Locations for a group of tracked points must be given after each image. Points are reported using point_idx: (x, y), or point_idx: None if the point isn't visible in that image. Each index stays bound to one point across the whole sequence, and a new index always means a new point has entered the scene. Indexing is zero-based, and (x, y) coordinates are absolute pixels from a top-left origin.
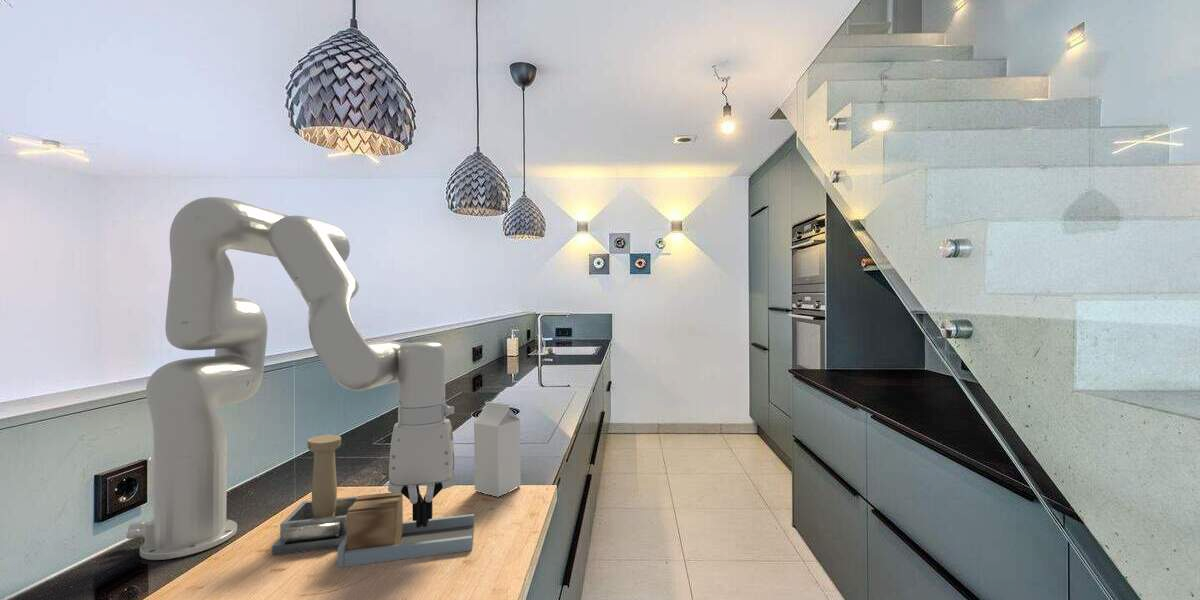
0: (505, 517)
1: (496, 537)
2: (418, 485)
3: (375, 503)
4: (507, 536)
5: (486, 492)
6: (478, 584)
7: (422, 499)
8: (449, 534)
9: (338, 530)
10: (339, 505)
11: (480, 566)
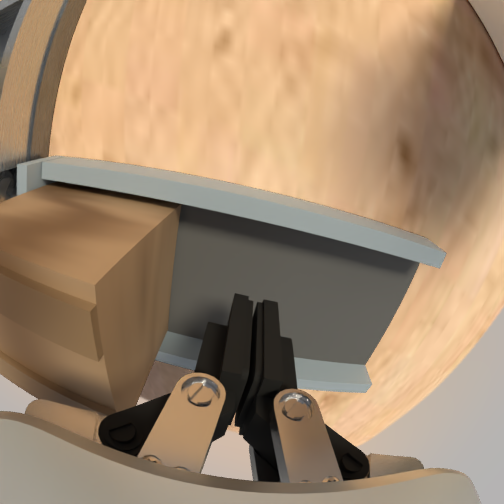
0: (494, 234)
1: (427, 334)
2: (206, 451)
3: (28, 355)
4: (444, 337)
5: (496, 38)
6: None
7: (241, 393)
8: (340, 282)
9: (1, 195)
10: (3, 18)
11: (342, 414)
